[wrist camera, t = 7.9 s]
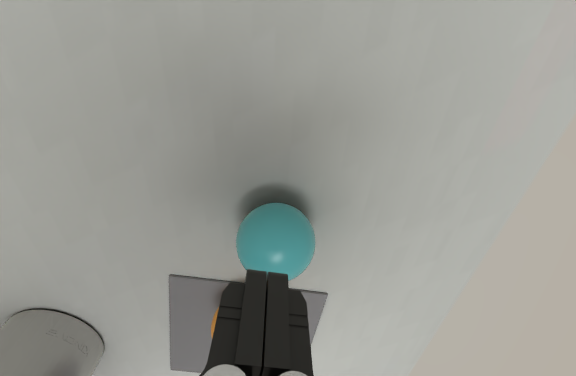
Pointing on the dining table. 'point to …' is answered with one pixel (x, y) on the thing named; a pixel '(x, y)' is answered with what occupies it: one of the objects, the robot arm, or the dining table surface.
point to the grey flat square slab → (208, 318)
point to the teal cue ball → (276, 240)
